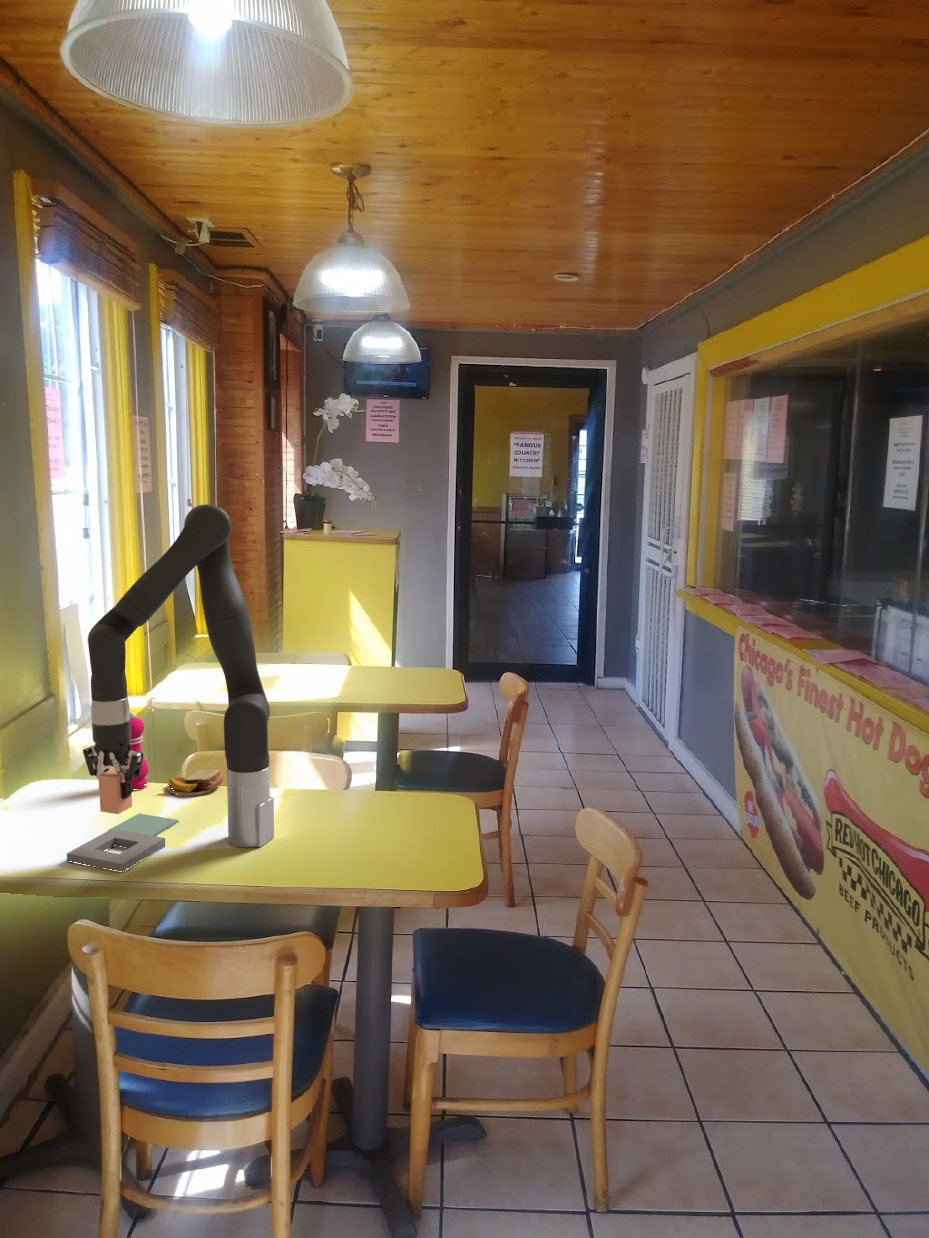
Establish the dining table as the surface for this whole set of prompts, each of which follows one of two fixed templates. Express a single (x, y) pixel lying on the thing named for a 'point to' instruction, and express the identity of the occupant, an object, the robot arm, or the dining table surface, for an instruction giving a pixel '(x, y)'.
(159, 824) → the rubber pad
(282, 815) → the dining table surface
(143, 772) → the pepper mill
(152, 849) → the pocket plate
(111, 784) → the terracotta block
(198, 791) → the toy sandwich meal
